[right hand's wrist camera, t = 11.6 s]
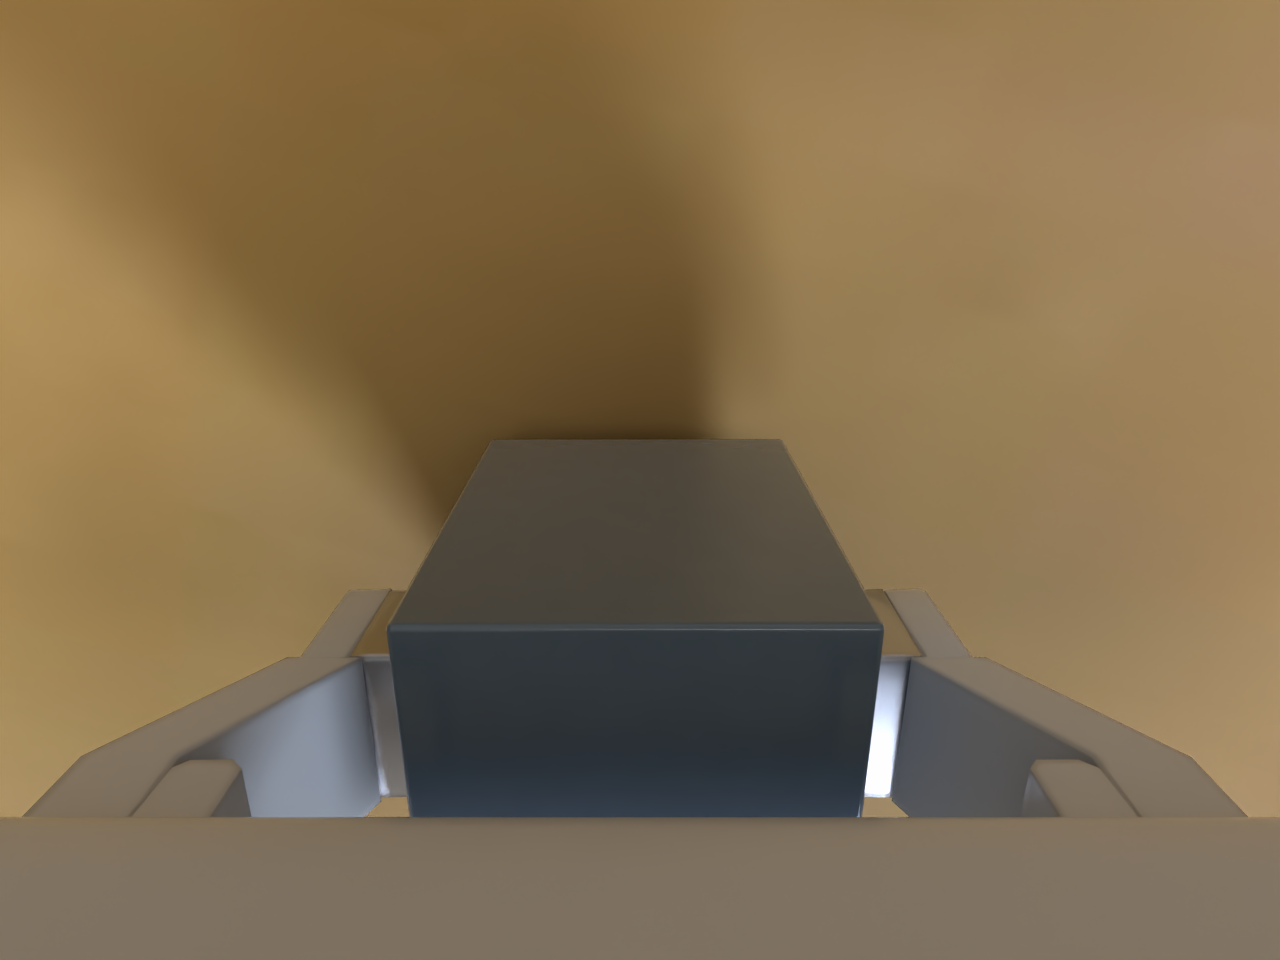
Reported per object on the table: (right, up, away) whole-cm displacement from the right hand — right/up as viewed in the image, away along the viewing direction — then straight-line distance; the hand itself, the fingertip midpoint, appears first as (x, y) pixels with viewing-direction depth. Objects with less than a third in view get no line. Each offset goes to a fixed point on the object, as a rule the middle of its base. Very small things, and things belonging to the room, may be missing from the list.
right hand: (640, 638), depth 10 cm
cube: (0, +1, +2) cm, 2 cm away
